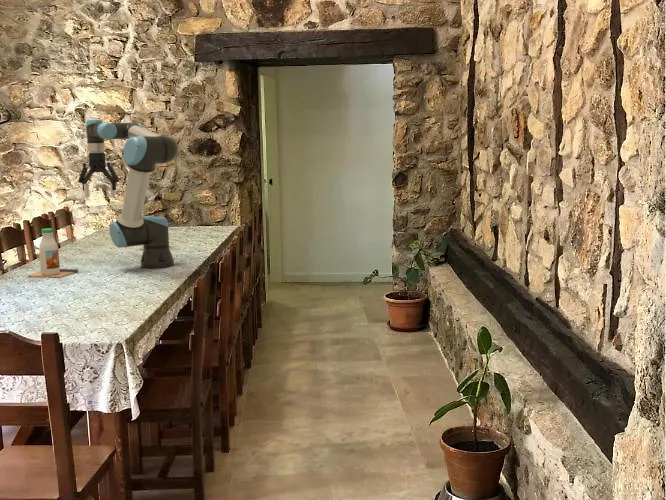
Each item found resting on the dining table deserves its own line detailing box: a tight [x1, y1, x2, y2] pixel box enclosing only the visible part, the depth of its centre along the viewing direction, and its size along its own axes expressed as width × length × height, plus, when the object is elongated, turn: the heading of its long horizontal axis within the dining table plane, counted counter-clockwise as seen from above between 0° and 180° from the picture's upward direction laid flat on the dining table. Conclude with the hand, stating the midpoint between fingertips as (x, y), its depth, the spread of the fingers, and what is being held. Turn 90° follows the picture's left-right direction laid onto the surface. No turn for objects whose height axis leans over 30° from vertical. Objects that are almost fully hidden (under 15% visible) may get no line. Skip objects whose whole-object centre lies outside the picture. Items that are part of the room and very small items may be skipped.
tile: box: [27, 270, 75, 279], centre depth 300 cm, size 16×10×1 cm, turn 78°
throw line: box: [60, 268, 79, 274], centre depth 306 cm, size 18×1×2 cm, turn 78°
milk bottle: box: [38, 227, 61, 275], centre depth 299 cm, size 8×8×20 cm
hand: (100, 197), depth 326 cm, fingers open, 13 cm apart
